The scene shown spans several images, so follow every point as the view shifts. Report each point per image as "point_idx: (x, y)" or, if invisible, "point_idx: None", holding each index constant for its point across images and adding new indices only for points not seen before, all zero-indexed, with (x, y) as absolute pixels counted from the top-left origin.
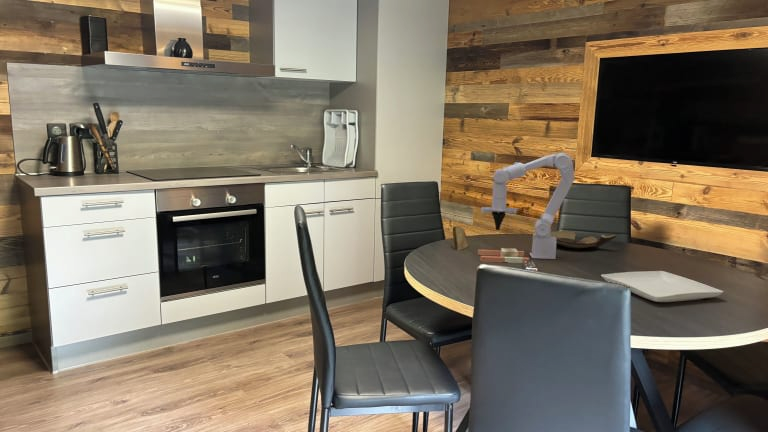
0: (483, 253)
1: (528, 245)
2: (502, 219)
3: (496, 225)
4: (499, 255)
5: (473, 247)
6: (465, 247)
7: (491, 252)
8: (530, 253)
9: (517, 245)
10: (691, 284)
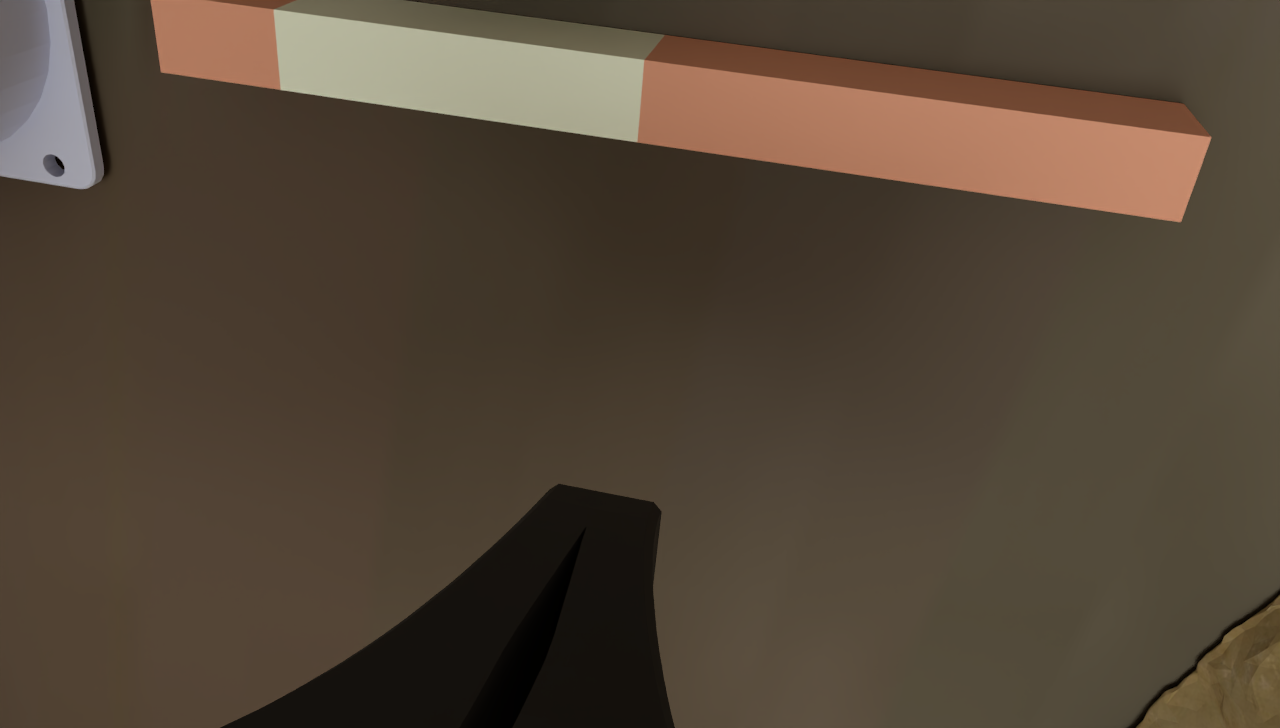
0: (1065, 97)
1: (129, 694)
2: (293, 703)
3: (634, 588)
4: (697, 39)
5: (1027, 676)
6: (1220, 653)
7: (875, 82)
8: (75, 137)
9: None
10: None
